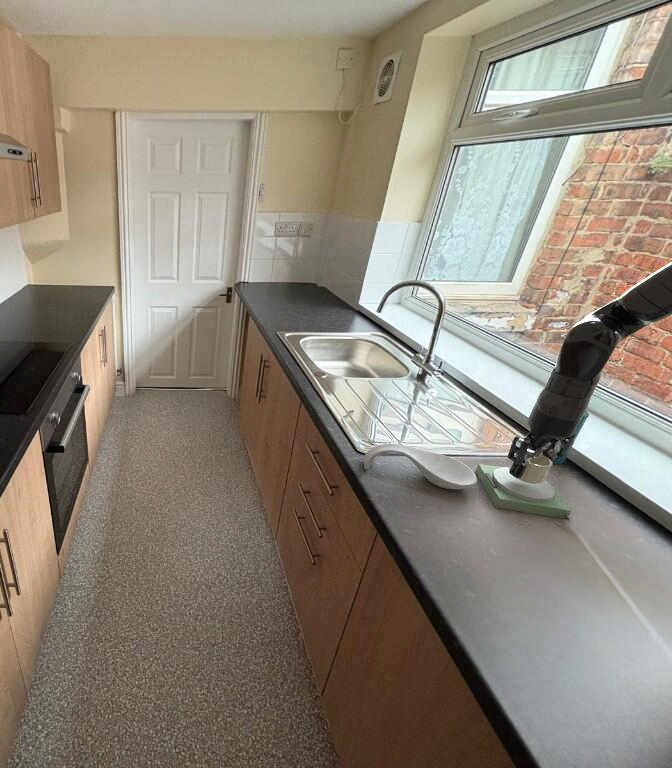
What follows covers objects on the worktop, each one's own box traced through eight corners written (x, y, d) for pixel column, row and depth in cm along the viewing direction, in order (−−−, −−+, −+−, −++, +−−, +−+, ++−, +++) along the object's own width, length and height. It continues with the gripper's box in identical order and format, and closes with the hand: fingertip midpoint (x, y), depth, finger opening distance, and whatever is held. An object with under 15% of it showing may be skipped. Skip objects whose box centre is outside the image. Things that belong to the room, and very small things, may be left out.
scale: (537, 481, 100) (543, 469, 98) (566, 519, 89) (573, 507, 87) (475, 471, 104) (479, 460, 102) (495, 507, 92) (501, 495, 91)
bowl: (535, 469, 96) (543, 452, 94) (548, 487, 90) (558, 469, 88) (503, 465, 97) (511, 447, 95) (515, 482, 92) (524, 464, 90)
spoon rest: (464, 471, 104) (474, 447, 100) (479, 502, 94) (489, 477, 91) (361, 453, 111) (367, 430, 108) (365, 480, 101) (371, 456, 98)
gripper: (549, 423, 81) (517, 489, 89) (605, 414, 84) (569, 479, 92) (512, 405, 88) (485, 468, 95) (565, 397, 91) (535, 459, 98)
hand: (526, 473), depth 94 cm, fingers closed on bowl, 6 cm apart
